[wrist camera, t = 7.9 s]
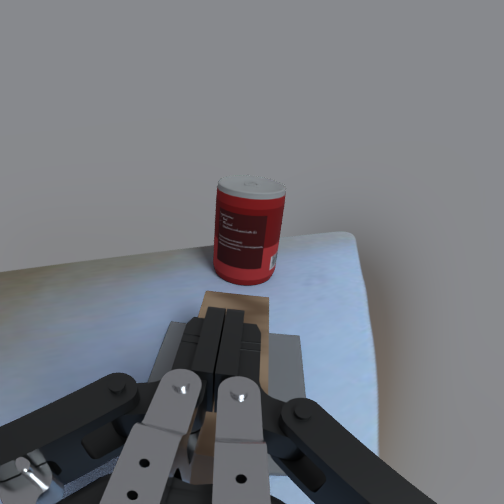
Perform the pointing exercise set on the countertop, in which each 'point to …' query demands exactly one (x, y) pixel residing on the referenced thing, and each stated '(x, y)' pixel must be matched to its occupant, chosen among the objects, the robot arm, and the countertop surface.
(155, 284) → the countertop surface
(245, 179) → the canned food
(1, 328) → the countertop surface
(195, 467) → the walnut block
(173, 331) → the rubber mat
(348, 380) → the countertop surface
